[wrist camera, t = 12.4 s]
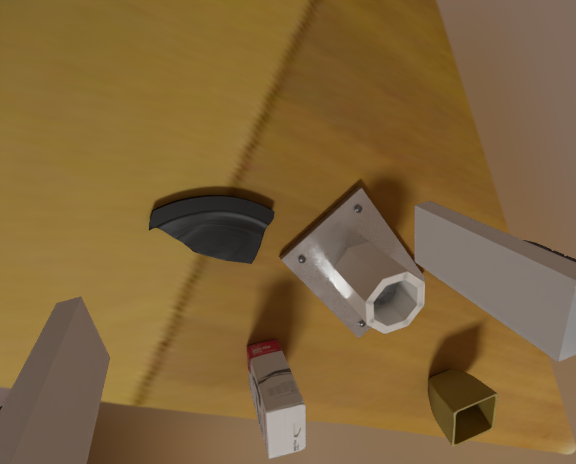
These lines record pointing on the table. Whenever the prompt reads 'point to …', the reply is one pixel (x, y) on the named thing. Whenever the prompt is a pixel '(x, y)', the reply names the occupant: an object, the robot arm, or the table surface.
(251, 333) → the table surface
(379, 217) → the duct plate
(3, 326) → the table surface
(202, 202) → the curved wedge
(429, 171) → the table surface
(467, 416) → the flower pot
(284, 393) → the ink box
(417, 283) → the octagonal hollow tube
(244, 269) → the table surface
